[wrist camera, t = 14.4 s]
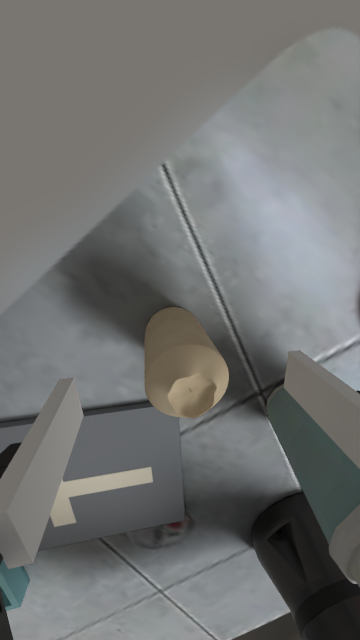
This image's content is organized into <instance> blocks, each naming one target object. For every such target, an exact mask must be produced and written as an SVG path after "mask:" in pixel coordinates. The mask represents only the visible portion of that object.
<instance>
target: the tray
mask: <svg viewBox="0 0 360 640" xmlns="http://www.w3.org/2000/svg"><path fill="white" fill-rule="evenodd" d="M29 581H30V579H29V577H28V575H27V573H26V571H25V570H24V568H23V566H20V567H15V568H11V569H8V567H7V566H6V564H5V562H4V561H3V560H2V562H1V565H0V589H1V593H2V597H3V601H4V605H5V609H6V610H10V609H14V608H18V607H21V604H22V601H23V598H24V595H25V592H26V589H27V586H28V584H29Z"/></svg>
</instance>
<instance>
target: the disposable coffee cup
mask: <svg viewBox="0 0 360 640" xmlns="http://www.w3.org/2000/svg"><path fill="white" fill-rule="evenodd" d="M266 411H267V417H268V419H269V421H270V423H271V425H272V427H273V429H274V431H275V433H276V435H277V437H278V440H279V442H280V444H281V446H282V448H283V450H284V452H285V454H286V456H287V458H288V460H289V462H290V465H291V467H292V469H293V471H294V473H295V475H296V477H297V479H298V481H299V483H300V485H301V487H302V489H303V492H304V494H305V496H306V498H307V500H308V502H309V504H310V506H311V508H312V510H313V512H314V514H315V517H316V519H317V521H318V523H319V525H320V527H321V529H322V531H323V533H324V535H325V537H326V539H327V541H328V544H329V555H330V556H331V557H332V559H333V560H334V561H335V562H336V564H337V565H338V566H339V568H340V569H341V571H342V572H343V574H344V575H345V576H346V577H347V579H348V580H349V581H350V582H352V583H353V584H358V585H359V587H360V469H359V468H358V467H357V466H356V465H355V464H354V463H353V461H352V460H351V459H350V458H349V457H348V456H347V455H346V454H345V453H344V452H343V451H342V450H341V449H340V448H339V446H338V445H337V444H336V443H335V442H334V441H333V440H332V439H331V438H330V437H329V436H328V435H327V434H326V432H325V431H324V430H323V429H322V428H321V427H320V426H319V425H318V424H317V423H316V422H315V421H314V420H313V419H312V417H311V416H310V415H309V414H308V413H307V412H306V411H305V410H304V409H303V408H302V407H301V406H300V405H299V403H298V402H297V401H296V400H295V399H294V398H293V397H292V396H291V395H290V394H289V393H288V392H287V391H286V390H285V388H284V384H282V385H280V386H279V387H277V388H275V389H274V391H273V392H272V393H271V395H270V396H269V398H268V399H267V406H266Z"/></svg>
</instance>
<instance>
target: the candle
mask: <svg viewBox="0 0 360 640" xmlns="http://www.w3.org/2000/svg"><path fill="white" fill-rule="evenodd" d="M228 381H229V372H228V367H227V365H226V363H225V361H224V359H223V358H222V356H221V355H220V353H219V352H218V350H217V349H216V347H215V346H214V344H213V343H212V341H211V340H210V338H209V337H208V335H207V334H206V332H205V331H204V329H203V328H202V326H201V325H200V323H199V322H198V320H197V319H196V318H195V316H194V315H193V314H191V313H190V312H189V311H187V310H185V309H182V308H178V307H169V308H165V309H162V310H160V311H158V312H157V313H155V314H154V315H153V316H152V317H151V319H150V320H149V322H148V324H147V326H146V330H145V391H146V395H147V397H148V399H149V401H150V403H151V404H152V405H153V406H154V407H155V408H156V409H158V410H159V411H160V412H162V413H164V414H167V415H170V416H174V417H188V418H196V417H199V416H201V415H202V414H204V413H205V412H207V411H208V410H209V409H210V408H212V407H213V406H214V405H215V404H216V403H217V402H218V401H219V400H220V399H221V398H222V396H223V395H224V393H225V391H226V389H227V386H228Z"/></svg>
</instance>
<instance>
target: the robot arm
mask: <svg viewBox="0 0 360 640" xmlns="http://www.w3.org/2000/svg"><path fill="white" fill-rule="evenodd" d="M284 388H285V390H286V391H287V392H288V393H289V394H290V395H291V396H292V397H293V398H294V399H295V400H296V401H297V402H298V403H299V405H300V406H301V407H302V408H303V409H304V410H305V411H306V412H307V413H308V414H309V415H310V416H311V417H312V419H313V420H314V421H315V422H316V423H317V424H318V425H319V426H320V427H321V428H322V429H323V430H324V431H325V432H326V434H327V435H328V436H329V437H330V438H331V439H332V440H333V441H334V442H335V443H336V444H337V445H338V446H339V448H340V449H341V450H342V451H343V452H344V453H345V454H346V455H347V456H348V457H349V458H350V459H351V460H352V461H353V463H354V464H355V465H356V466H357V467H358V468H359V469H360V391H355V390H354V389H352V388H351V387H350V386H348V385H347V384H345V383H344V382H343V381H341V380H340V379H338V378H337V377H336V376H334V375H333V374H332V373H330V372H329V371H327V370H326V369H325V368H323V367H322V366H321V365H319V364H318V363H316V362H315V361H314V360H312V359H311V358H309V357H308V356H307V355H305V354H304V353H303V352H301V351H300V350H299V351H290V352H289V353H288V360H287V366H286V373H285V380H284ZM83 416H84V415H83V411H82V407H81V403H80V399H79V395H78V391H77V387H76V383H75V380H74V378H67V379H60V380H59V382H58V383H57V385H56V387H55V388H54V390H53V392H52V393H51V395H50V397H49V398H48V400H47V402H46V403H45V405H44V407H43V408H42V410H41V412H40V413H39V415H38V417H37V418H36V420H35V422H34V423H33V425H32V427H31V428H30V430H29V432H28V434H27V435H26V437H25V439H24V440H23V442H20V443H14V444H10V445H9V446H8V447H7V448H6V449H5V450H4V451H3V452H1V453H0V565H1V562H2V560H3V561H4V562H5V564H6V566H7V567H8V569H11V568H15V567H20V566H25V565H29V564H33V563H34V560H35V557H36V554H37V551H38V548H39V545H40V542H41V540H42V537H43V534H44V531H45V528H46V525H47V522H48V519H49V516H50V513H51V510H52V507H53V504H54V501H55V498H56V495H57V493H58V490H59V487H60V484H61V481H62V478H63V475H64V472H65V469H66V466H67V463H68V460H69V457H70V454H71V451H72V449H73V446H74V443H75V440H76V437H77V434H78V431H79V428H80V425H81V422H82V419H83ZM251 540H252V543H253V546H254V549H255V552H256V554H257V557H258V559H259V561H260V563H261V565H262V566H263V568H264V569H265V571H266V572H267V574H268V576H269V577H270V579H271V580H272V582H273V583H274V585H275V587H276V588H277V590H278V591H279V593H280V594H281V596H282V598H283V599H284V601H285V602H286V604H287V606H288V607H289V609H290V611H291V613H292V615H293V617H294V620H295V623H296V625H297V628H298V630H299V633H300V635H301V638H302V640H360V587H359V585H358V584H353V583H352V582H350V581H349V580H348V579H347V577H346V576H345V575H344V574H343V572H342V571H341V569H340V568H339V566H338V565H337V564H336V562H335V561H334V560H333V559H332V557H331V556H330V555H329V544H328V541H327V539H326V537H325V535H324V533H323V531H322V529H321V527H320V525H319V523H318V521H317V519H316V517H315V514H314V512H313V510H312V508H311V506H310V504H309V502H308V500H307V498H306V496H305V494H304V493H301V494H297V495H294V496H291V497H288V498H286V499H284V500H282V501H280V502H278V503H276V504H275V505H273V506H272V507H270V508H269V509H268V510H266V511H265V512H264V513H263V514H262V515H261V516H260V517H259V519H258V520H257V521H256V523H255V525H254V526H253V529H252V532H251ZM0 640H13V637H12V633H11V629H10V625H9V621H8V617H7V613H6V609H5V605H4V601H3V597H2V593H1V589H0Z"/></svg>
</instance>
